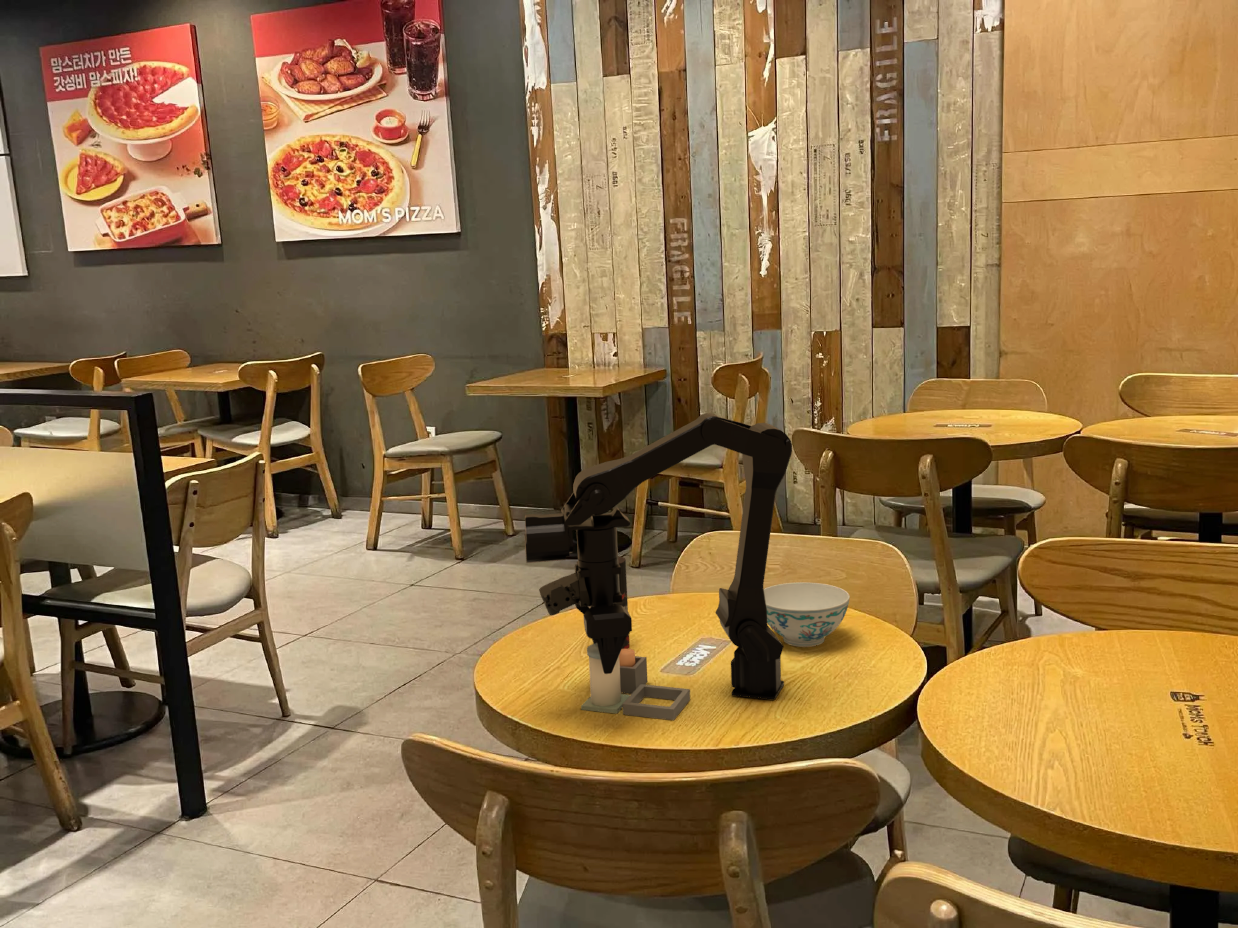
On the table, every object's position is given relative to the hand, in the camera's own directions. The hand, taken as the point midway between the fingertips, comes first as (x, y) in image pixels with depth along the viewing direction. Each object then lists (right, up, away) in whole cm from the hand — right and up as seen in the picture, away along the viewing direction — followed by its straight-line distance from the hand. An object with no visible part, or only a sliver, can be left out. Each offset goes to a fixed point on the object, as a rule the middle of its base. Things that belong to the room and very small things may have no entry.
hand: (603, 661), depth 159 cm
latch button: (+3, -4, +7) cm, 9 cm away
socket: (+8, -6, -1) cm, 10 cm away
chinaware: (+33, -1, +24) cm, 41 cm away
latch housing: (+3, -5, +7) cm, 10 cm away
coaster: (0, -6, +1) cm, 7 cm away
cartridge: (0, -6, +1) cm, 6 cm away
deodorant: (+1, -2, +25) cm, 25 cm away
